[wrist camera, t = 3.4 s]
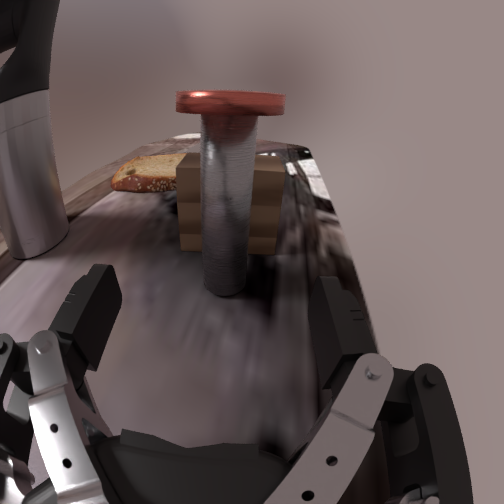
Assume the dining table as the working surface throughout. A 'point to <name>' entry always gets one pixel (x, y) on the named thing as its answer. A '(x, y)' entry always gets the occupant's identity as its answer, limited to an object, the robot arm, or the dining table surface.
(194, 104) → the copper-capped metal peg
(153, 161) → the seeded bread slice
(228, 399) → the dining table surface
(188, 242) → the brown striped block
